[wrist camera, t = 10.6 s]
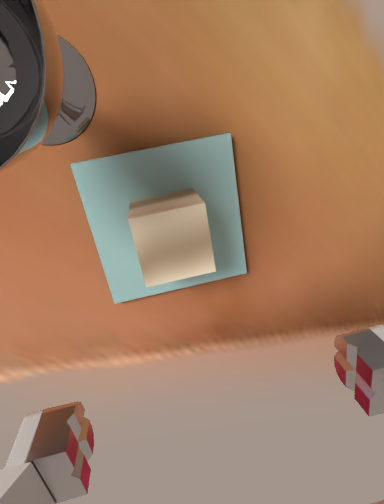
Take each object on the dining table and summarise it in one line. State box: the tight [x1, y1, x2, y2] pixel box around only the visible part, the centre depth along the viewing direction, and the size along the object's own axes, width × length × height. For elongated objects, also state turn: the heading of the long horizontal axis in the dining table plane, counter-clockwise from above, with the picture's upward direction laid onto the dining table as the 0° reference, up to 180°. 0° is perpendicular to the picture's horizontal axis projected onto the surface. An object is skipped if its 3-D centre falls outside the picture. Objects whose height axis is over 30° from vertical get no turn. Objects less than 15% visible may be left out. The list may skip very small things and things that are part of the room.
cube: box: [128, 188, 216, 287], centre depth 23 cm, size 5×5×5 cm
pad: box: [70, 133, 247, 304], centre depth 26 cm, size 12×12×1 cm
